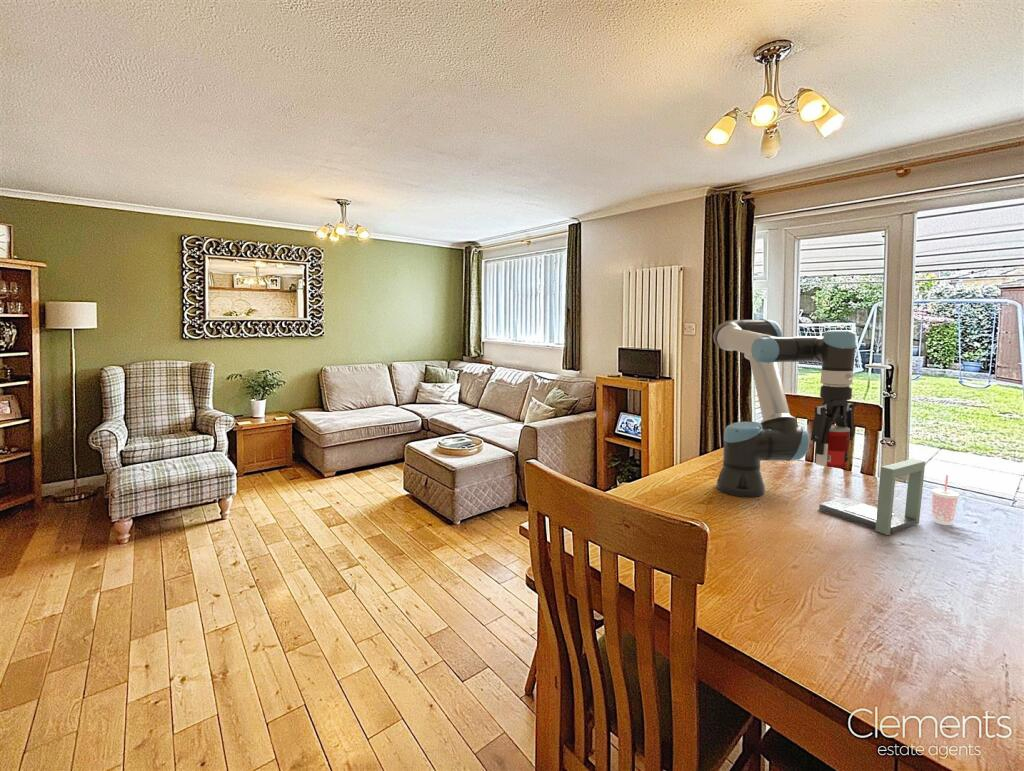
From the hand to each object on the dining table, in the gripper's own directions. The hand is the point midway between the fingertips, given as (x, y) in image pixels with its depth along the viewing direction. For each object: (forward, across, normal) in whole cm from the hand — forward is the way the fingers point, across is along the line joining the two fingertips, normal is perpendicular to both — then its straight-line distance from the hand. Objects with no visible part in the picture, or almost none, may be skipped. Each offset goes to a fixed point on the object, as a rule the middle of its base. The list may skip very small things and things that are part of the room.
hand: (831, 463), depth 144 cm
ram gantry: (+17, +13, -11) cm, 24 cm away
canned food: (0, 0, 0) cm, 0 cm away
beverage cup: (+18, +29, -14) cm, 37 cm away
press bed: (+17, +12, -3) cm, 22 cm away
